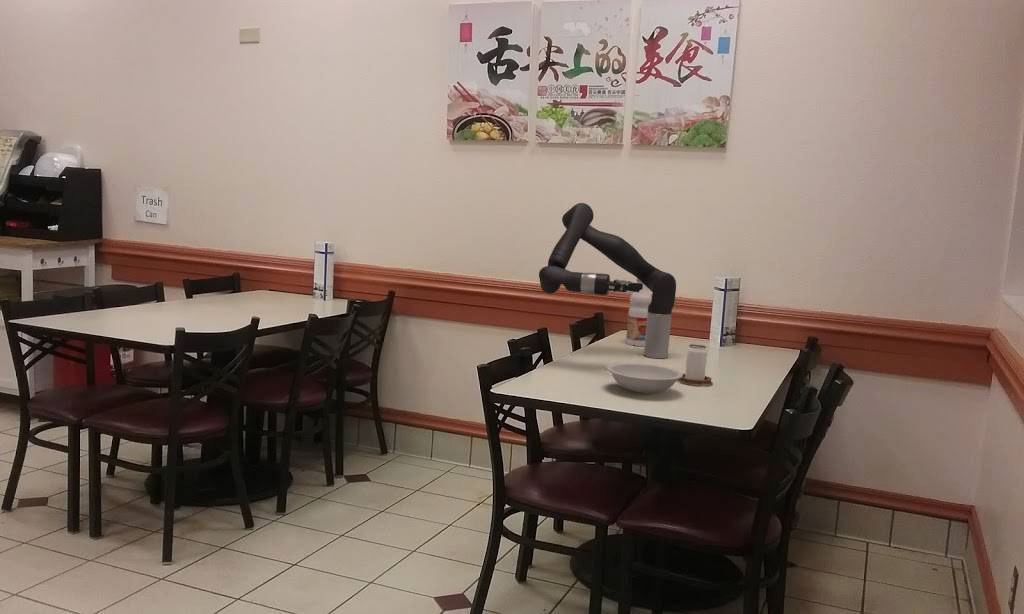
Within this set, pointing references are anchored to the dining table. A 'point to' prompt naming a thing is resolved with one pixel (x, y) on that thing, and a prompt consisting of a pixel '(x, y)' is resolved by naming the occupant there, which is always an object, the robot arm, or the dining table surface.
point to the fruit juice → (638, 316)
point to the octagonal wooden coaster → (695, 381)
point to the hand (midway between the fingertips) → (641, 287)
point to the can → (696, 362)
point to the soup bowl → (644, 376)
